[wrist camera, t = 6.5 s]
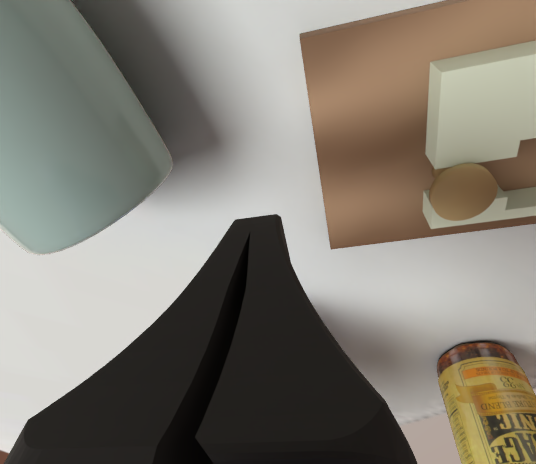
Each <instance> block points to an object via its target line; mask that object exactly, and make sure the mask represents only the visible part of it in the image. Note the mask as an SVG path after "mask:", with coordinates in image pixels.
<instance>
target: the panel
mask: <svg viewBox="0 0 536 464" xmlns="http://www.w3.org/2000/svg"><path fill="white" fill-rule="evenodd" d="M533 138H536V40H535V41H530V42H525V43H521V44H516V45H511V46H506V47H501V48H496V49H491V50H486V51H481V52H476V53H471V54H466V55H461V56H456V57H452V58H447V59H442V60H437V61H432V62H430V73H429V93H428V112H427V132H426V152H425V154H426V156H427V157H428V159H429V160H430V162H431V164H432V165H433V167H434V169H441V168H448V167H453V166H455V165H459V164H464V163H480V162H486V161H493V160H499V159H506V158H512V157H517V153H518V149H519V144H520V140H526V139H533ZM497 185H498V184H497ZM423 214H424V216H425V218H426V220H427V222H428V224H429V226H430V228H431V229H435V228H443V227H451V226H458V225H466V224H474V223H482V222H489V221H497V220H505V219H513V218H520V217H528V216H536V187H530V188H523V189H516V190H509V191H503V190H502V189H501V188H500V187H499V186H498V191H497V195H496V198H495V199H494V201H493V203H492V204H491V205H490V206H489V207H488V208H487V209H486V210H485V211H484V212H482V213H481V214H479V215H477V216H475V217H473V218H470V219H467V220H462V221H451V220H446V219H444V218H442V217H440V216H439V215H438V214H437V213H436V212H435V210H434V209H433V207H432V205H431V203H430V200H429V190H424V192H423Z"/></svg>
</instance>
